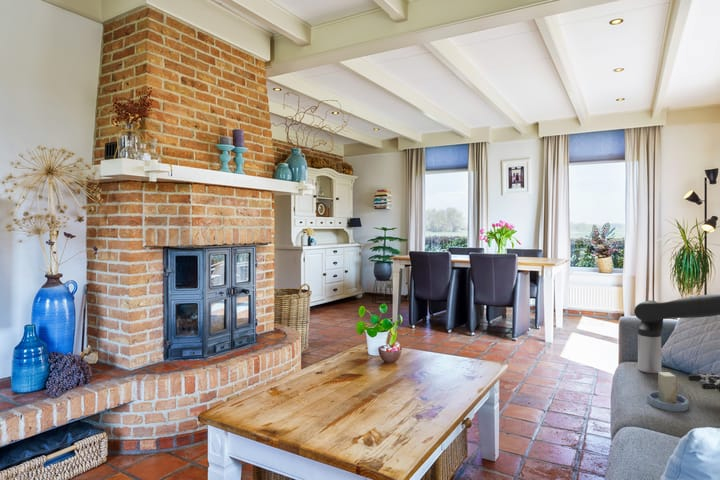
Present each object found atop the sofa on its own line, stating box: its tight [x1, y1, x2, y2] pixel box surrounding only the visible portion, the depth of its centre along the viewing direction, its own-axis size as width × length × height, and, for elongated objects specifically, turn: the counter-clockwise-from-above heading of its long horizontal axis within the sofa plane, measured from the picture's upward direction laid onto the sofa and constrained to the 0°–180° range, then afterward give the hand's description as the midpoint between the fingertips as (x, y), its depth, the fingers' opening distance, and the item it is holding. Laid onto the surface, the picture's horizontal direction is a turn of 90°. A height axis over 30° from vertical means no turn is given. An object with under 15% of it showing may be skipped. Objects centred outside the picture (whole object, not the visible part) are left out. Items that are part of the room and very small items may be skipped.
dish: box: [646, 390, 689, 412], centre depth 170 cm, size 13×13×2 cm
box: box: [657, 371, 677, 404], centre depth 170 cm, size 5×4×11 cm
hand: (695, 381), depth 168 cm, fingers open, 8 cm apart
